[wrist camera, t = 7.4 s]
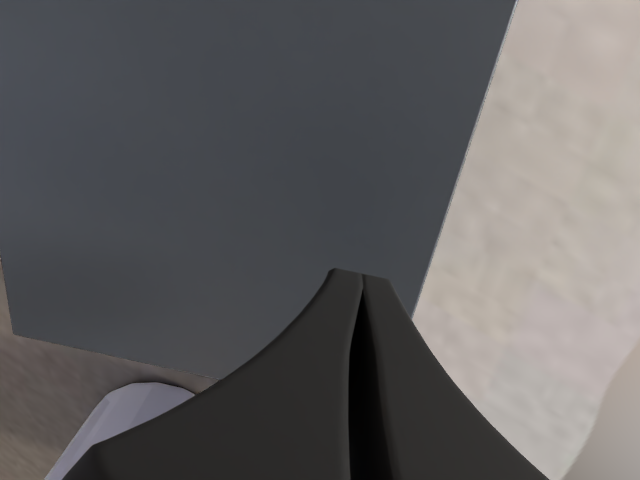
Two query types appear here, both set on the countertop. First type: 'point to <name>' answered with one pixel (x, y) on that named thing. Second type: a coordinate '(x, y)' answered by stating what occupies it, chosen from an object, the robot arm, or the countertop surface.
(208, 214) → the dark grey drawer cabinet
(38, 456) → the countertop surface
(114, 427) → the soap bottle
